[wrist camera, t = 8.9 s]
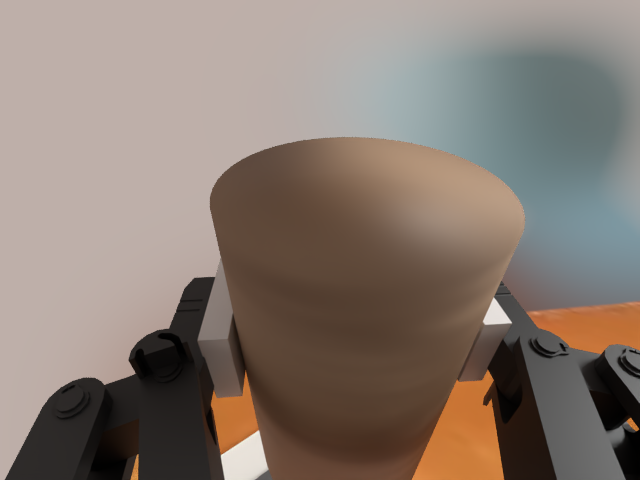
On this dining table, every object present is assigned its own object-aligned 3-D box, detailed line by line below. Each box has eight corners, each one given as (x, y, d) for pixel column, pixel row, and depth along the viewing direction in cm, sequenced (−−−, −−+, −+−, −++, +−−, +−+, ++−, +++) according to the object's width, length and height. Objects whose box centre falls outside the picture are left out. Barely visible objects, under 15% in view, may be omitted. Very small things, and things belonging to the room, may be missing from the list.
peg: (347, 378, 21) (373, 125, 11) (432, 483, 16) (589, 204, 7) (248, 443, 17) (172, 167, 8) (318, 598, 13) (325, 367, 4)
